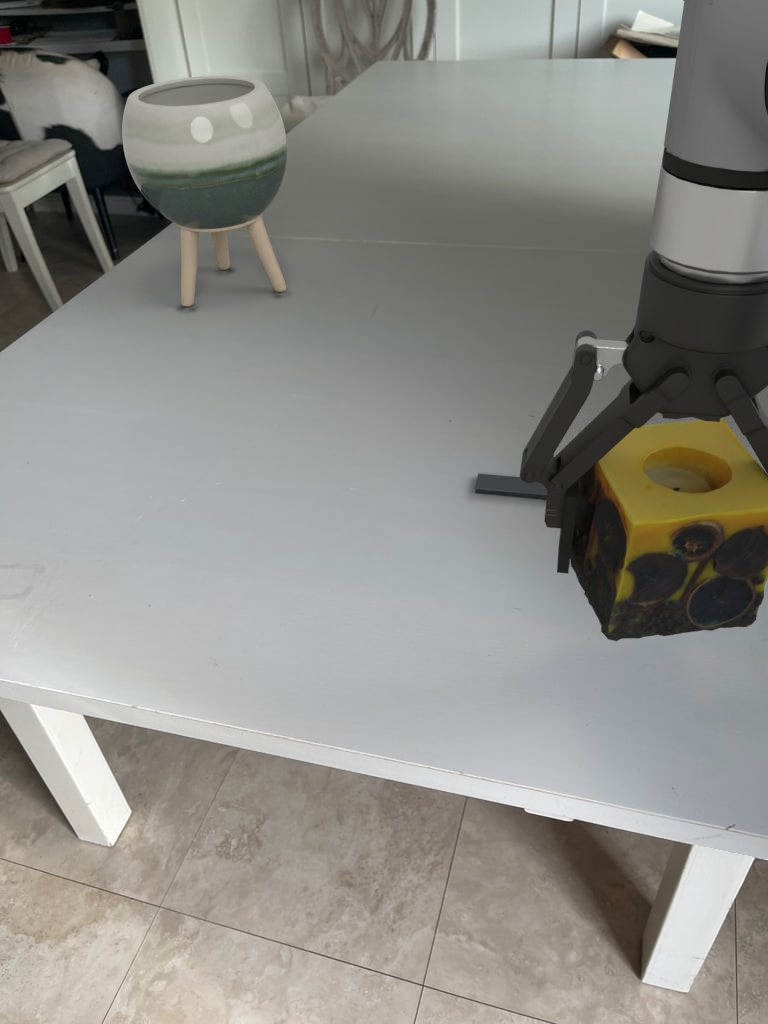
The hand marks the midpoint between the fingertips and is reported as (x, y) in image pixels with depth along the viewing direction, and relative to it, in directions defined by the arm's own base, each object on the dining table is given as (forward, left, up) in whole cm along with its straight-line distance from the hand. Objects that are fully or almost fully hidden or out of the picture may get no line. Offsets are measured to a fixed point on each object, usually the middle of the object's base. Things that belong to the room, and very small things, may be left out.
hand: (655, 569), depth 55 cm
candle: (0, 0, -1) cm, 1 cm away
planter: (+88, -15, -13) cm, 90 cm away
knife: (+18, -16, -13) cm, 27 cm away
